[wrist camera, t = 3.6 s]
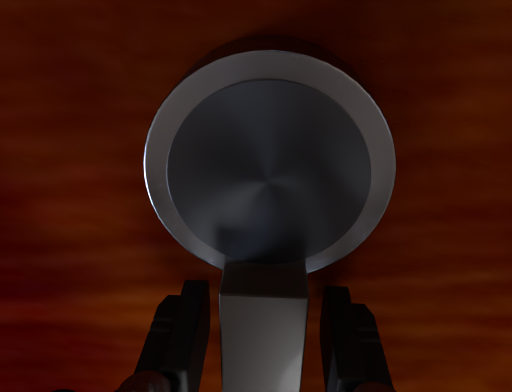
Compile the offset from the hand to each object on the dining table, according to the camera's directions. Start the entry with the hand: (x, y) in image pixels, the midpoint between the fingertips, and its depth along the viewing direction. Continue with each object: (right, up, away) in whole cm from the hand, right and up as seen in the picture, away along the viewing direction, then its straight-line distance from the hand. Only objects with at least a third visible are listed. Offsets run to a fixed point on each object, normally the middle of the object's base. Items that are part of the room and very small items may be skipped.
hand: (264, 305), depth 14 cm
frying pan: (0, +1, 0) cm, 1 cm away
